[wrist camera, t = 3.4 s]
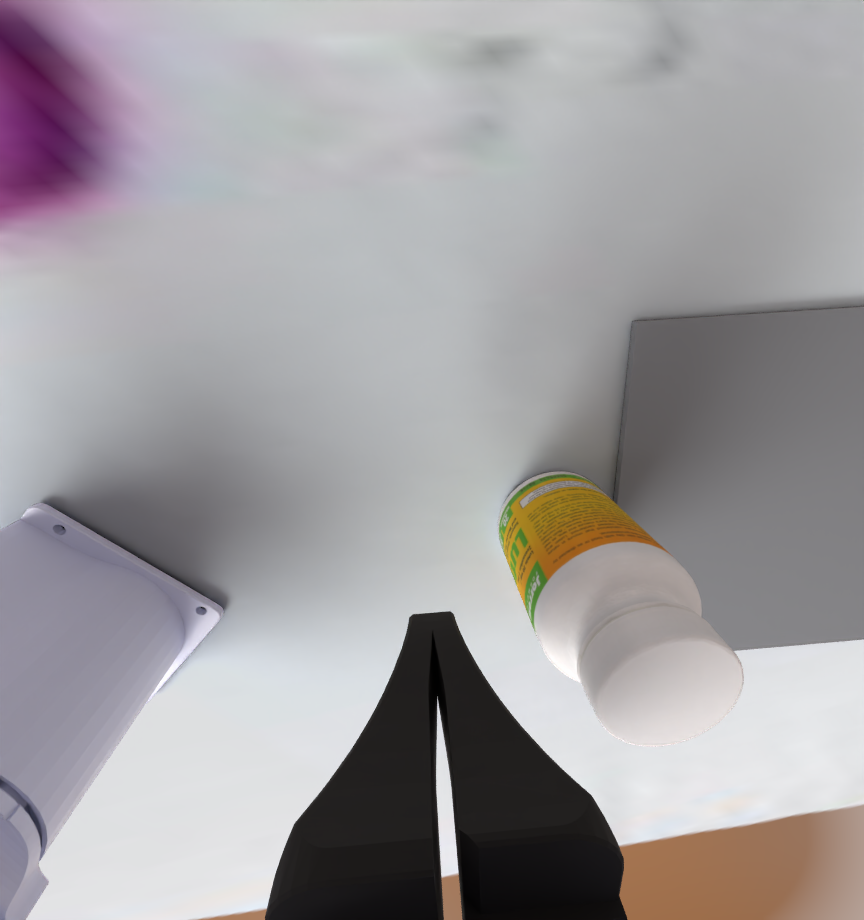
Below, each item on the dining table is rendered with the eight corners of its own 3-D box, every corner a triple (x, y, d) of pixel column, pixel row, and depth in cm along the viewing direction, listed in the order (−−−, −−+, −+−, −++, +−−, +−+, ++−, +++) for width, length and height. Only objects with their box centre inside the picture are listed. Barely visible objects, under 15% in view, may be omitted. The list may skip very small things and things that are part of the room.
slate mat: (596, 656, 23) (600, 662, 23) (632, 321, 17) (637, 321, 16) (870, 632, 23) (877, 637, 23) (1003, 297, 17) (1016, 297, 17)
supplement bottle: (482, 489, 19) (549, 652, 10) (594, 453, 19) (769, 586, 10) (511, 579, 21) (589, 786, 12) (613, 547, 21) (776, 736, 11)
